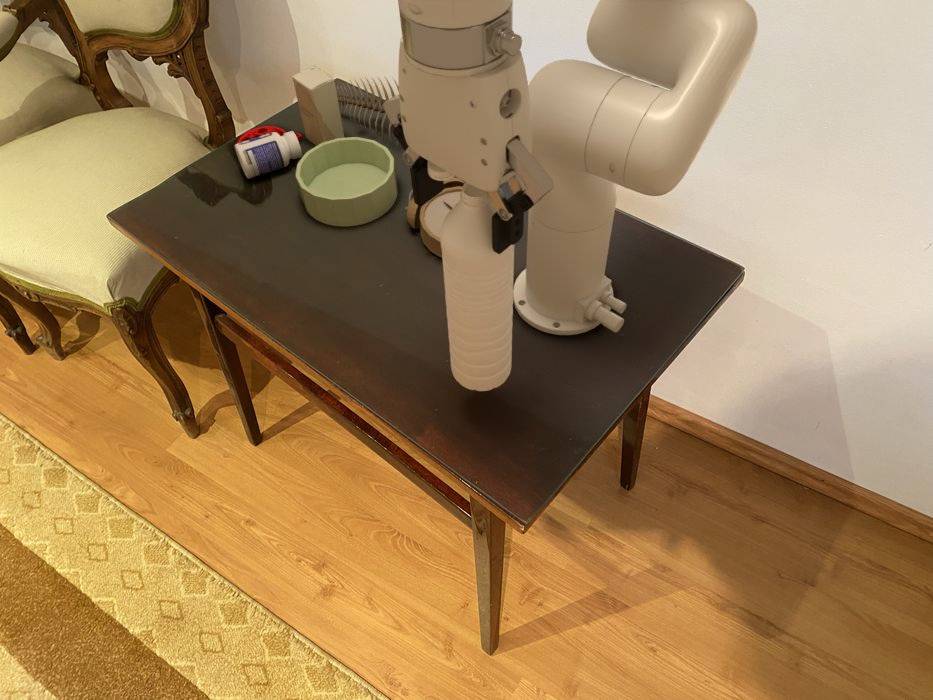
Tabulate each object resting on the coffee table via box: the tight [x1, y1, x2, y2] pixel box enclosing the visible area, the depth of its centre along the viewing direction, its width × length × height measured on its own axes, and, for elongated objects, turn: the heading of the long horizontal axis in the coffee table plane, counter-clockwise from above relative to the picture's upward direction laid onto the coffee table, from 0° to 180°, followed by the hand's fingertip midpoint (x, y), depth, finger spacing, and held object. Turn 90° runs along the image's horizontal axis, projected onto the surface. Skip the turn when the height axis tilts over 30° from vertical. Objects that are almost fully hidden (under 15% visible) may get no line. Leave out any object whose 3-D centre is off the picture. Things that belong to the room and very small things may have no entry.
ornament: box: [237, 125, 303, 143], centre depth 116 cm, size 8×1×10 cm
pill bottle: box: [234, 130, 303, 179], centre depth 110 cm, size 5×5×9 cm
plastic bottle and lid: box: [427, 161, 516, 392], centre depth 70 cm, size 9×6×25 cm
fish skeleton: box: [335, 76, 400, 147], centre depth 114 cm, size 6×28×10 cm, turn 59°
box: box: [291, 65, 346, 147], centre depth 112 cm, size 5×4×11 cm
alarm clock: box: [404, 177, 466, 259], centre depth 101 cm, size 11×5×15 cm
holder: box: [295, 136, 399, 228], centre depth 106 cm, size 14×14×5 cm
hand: (467, 219), depth 63 cm, fingers closed on plastic bottle and lid, 8 cm apart
